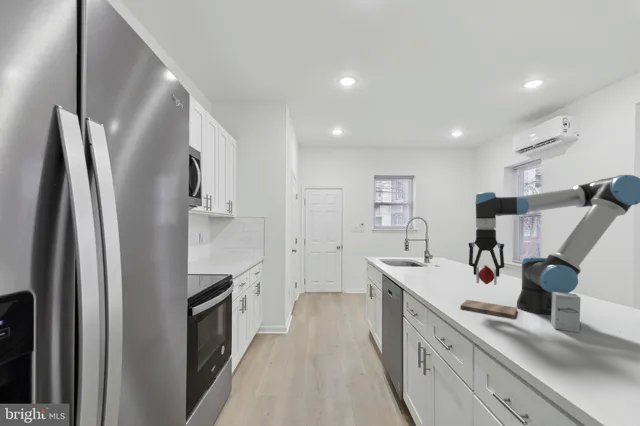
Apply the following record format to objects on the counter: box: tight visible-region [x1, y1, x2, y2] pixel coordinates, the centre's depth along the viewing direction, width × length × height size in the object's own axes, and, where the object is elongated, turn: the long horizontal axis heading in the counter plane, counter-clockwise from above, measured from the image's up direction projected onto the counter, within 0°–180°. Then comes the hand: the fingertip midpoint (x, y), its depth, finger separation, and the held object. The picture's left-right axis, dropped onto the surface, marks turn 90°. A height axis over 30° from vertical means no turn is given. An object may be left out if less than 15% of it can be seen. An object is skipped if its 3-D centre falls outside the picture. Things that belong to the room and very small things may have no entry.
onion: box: [479, 264, 494, 285], centre depth 135 cm, size 6×6×8 cm
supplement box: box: [550, 291, 581, 334], centre depth 117 cm, size 7×7×13 cm
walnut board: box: [459, 299, 518, 319], centre depth 138 cm, size 20×14×2 cm
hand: (486, 283), depth 135 cm, fingers closed on onion, 6 cm apart
